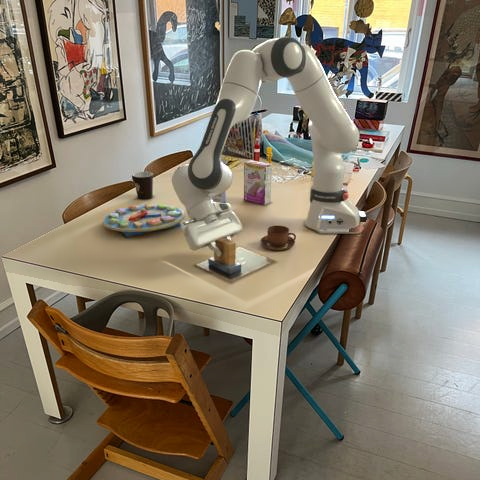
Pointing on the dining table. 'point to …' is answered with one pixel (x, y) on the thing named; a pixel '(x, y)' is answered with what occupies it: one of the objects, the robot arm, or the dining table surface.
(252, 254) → the slate board
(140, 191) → the coffee mug
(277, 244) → the cup and saucer
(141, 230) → the shape sorting clock
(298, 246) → the dining table surface
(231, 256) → the eraser
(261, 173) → the candy bar box
